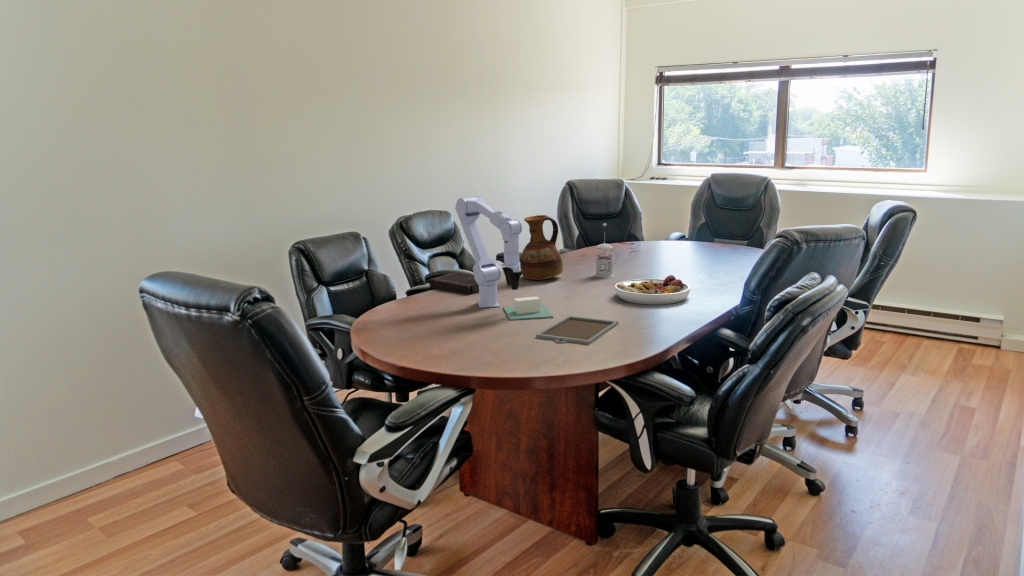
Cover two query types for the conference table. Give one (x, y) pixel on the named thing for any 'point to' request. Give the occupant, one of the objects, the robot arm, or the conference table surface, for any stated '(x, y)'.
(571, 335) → the picture frame
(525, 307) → the card box
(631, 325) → the conference table surface
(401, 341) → the conference table surface
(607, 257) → the french press
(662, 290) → the bowl
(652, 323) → the conference table surface
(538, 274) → the ceramic pitcher
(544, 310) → the mat
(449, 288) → the diary
